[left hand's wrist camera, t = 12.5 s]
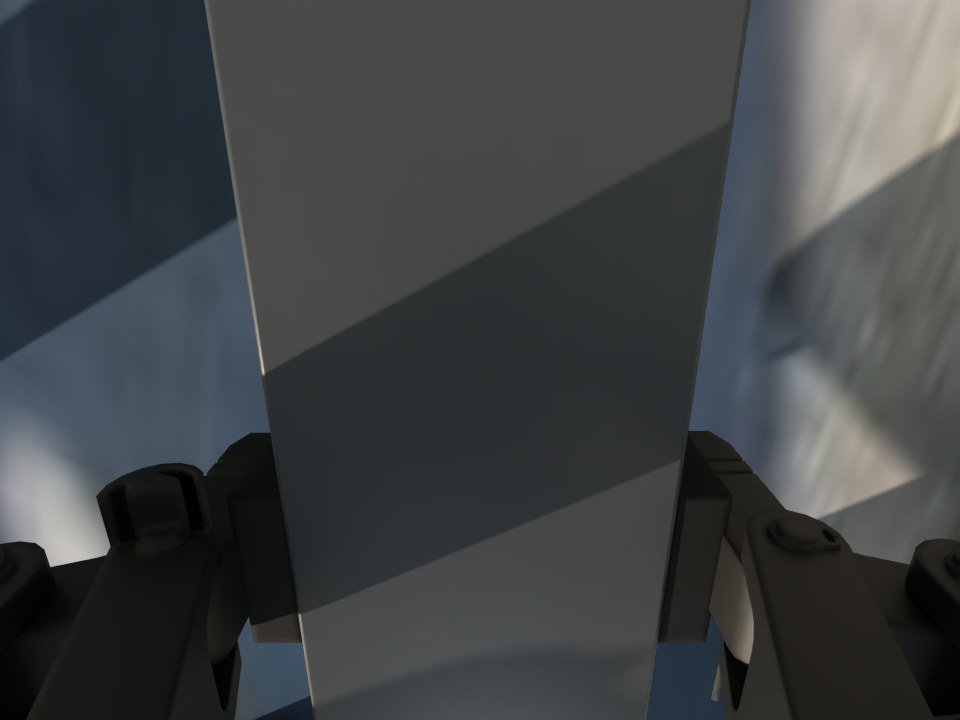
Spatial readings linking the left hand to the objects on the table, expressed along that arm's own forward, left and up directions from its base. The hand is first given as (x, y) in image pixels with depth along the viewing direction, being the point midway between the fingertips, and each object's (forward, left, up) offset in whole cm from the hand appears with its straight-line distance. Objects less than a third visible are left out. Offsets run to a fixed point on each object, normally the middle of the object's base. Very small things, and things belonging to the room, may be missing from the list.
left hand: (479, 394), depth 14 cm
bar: (+28, +6, -1) cm, 29 cm away
